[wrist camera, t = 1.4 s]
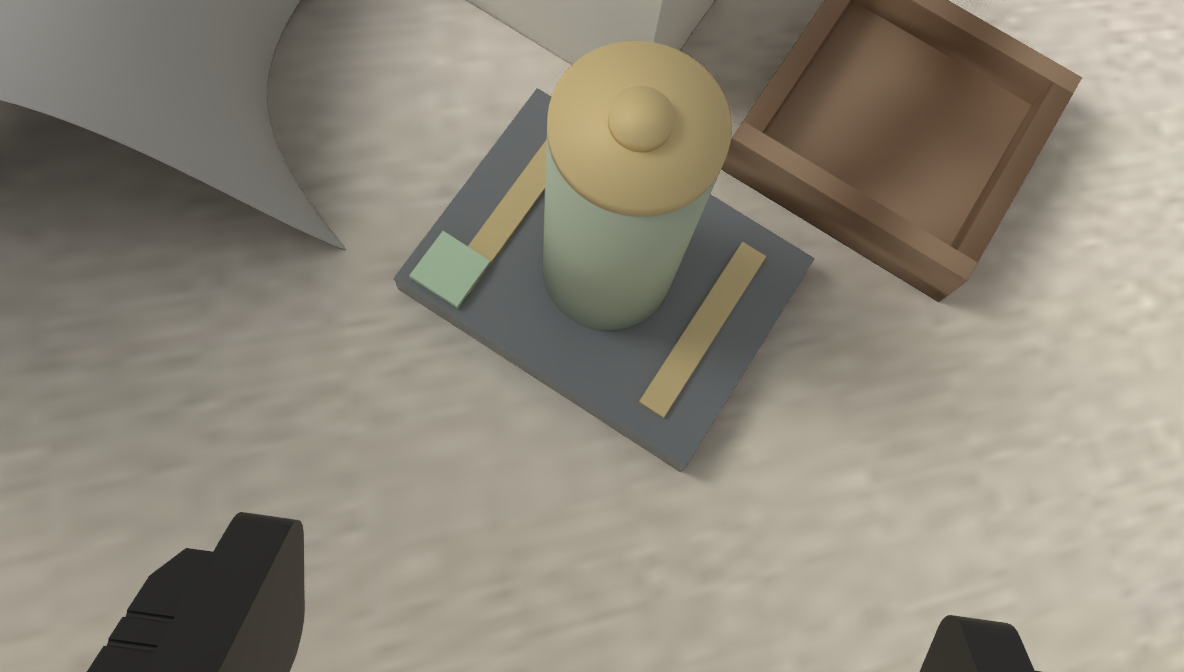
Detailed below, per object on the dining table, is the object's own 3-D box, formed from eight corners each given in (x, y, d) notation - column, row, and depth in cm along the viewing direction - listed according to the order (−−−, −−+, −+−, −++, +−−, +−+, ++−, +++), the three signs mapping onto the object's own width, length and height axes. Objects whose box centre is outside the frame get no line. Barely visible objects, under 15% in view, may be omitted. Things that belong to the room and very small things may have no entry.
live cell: (517, 284, 35) (510, 136, 24) (588, 185, 36) (612, 0, 25) (627, 355, 34) (672, 237, 23) (696, 251, 35) (769, 93, 24)
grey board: (398, 288, 36) (392, 274, 34) (536, 103, 38) (537, 82, 36) (680, 471, 34) (687, 465, 33) (805, 269, 37) (817, 254, 35)
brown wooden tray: (718, 167, 38) (732, 137, 35) (839, -12, 40) (858, -51, 38) (938, 302, 37) (967, 280, 34) (1048, 110, 39) (1082, 77, 37)
